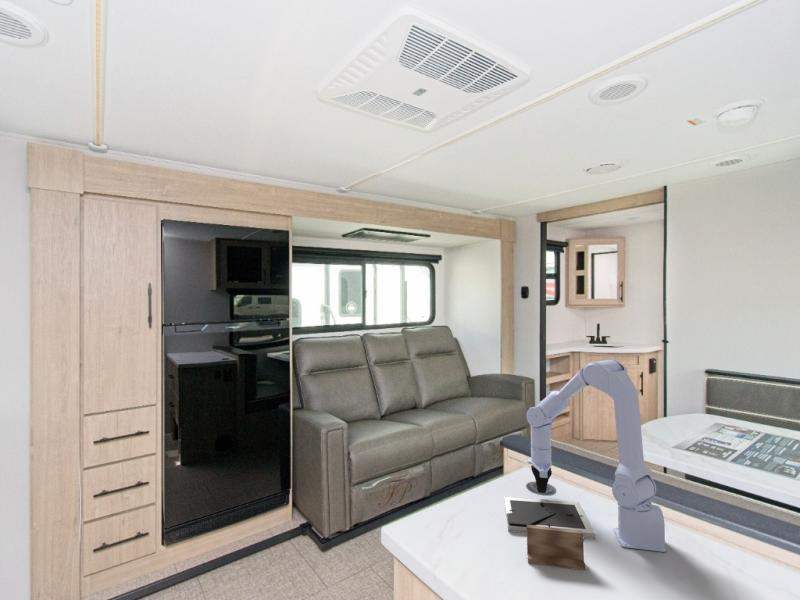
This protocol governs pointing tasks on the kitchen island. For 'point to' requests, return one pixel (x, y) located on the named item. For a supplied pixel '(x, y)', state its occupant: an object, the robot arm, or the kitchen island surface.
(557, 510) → the picture frame
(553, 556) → the walnut bookend
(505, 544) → the kitchen island surface
